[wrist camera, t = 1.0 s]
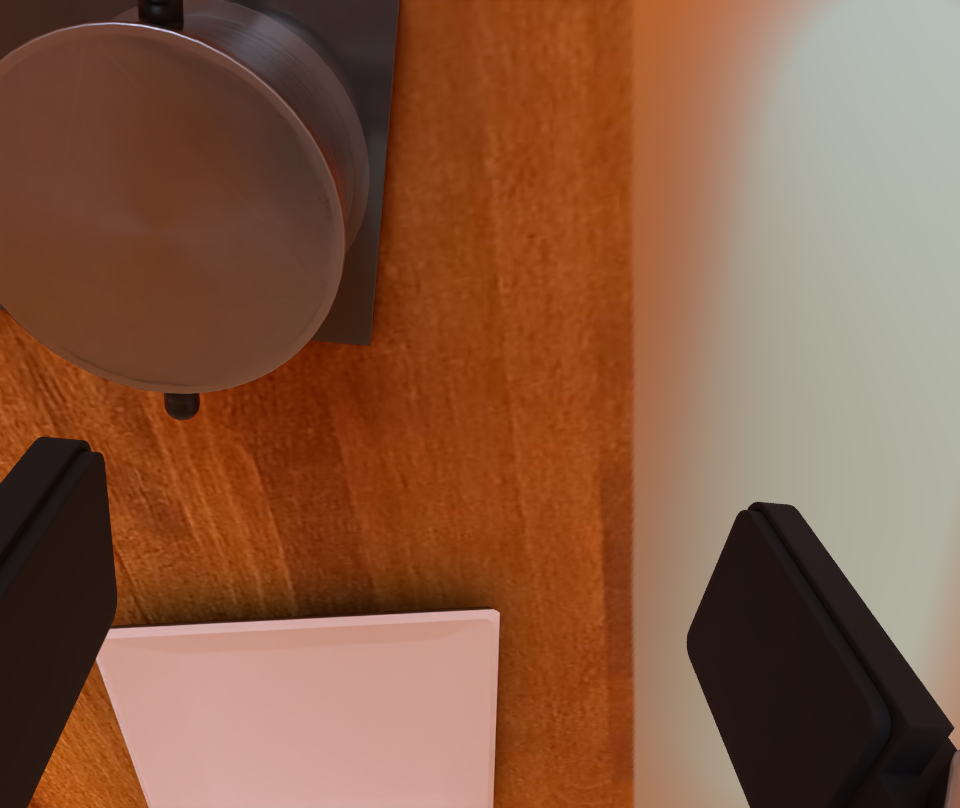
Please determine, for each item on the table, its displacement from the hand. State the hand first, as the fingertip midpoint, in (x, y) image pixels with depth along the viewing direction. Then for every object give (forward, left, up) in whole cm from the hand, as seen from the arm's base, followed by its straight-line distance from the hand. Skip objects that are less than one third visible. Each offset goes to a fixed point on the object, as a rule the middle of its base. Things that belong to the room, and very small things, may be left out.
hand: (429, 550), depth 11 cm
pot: (-1, -7, -17) cm, 19 cm away
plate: (+28, -2, -19) cm, 34 cm away
